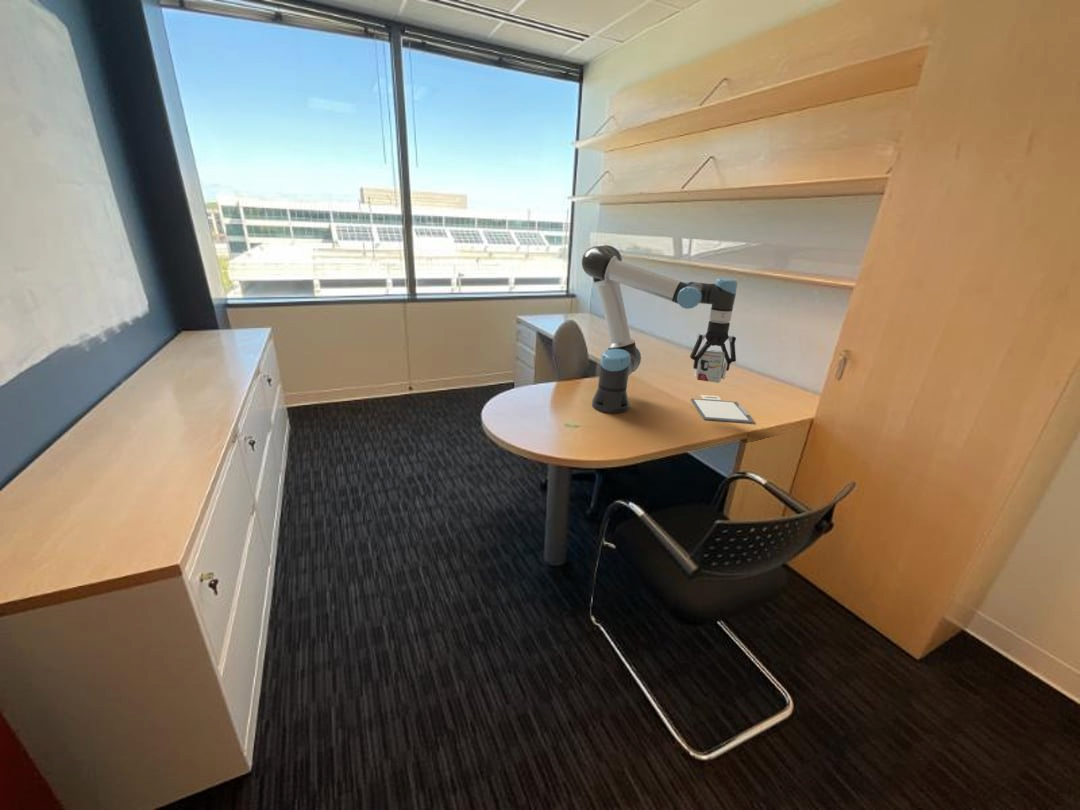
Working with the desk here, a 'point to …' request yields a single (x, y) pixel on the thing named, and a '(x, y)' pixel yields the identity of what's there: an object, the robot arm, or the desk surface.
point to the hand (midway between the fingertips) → (709, 377)
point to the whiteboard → (722, 411)
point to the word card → (710, 397)
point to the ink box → (711, 366)
